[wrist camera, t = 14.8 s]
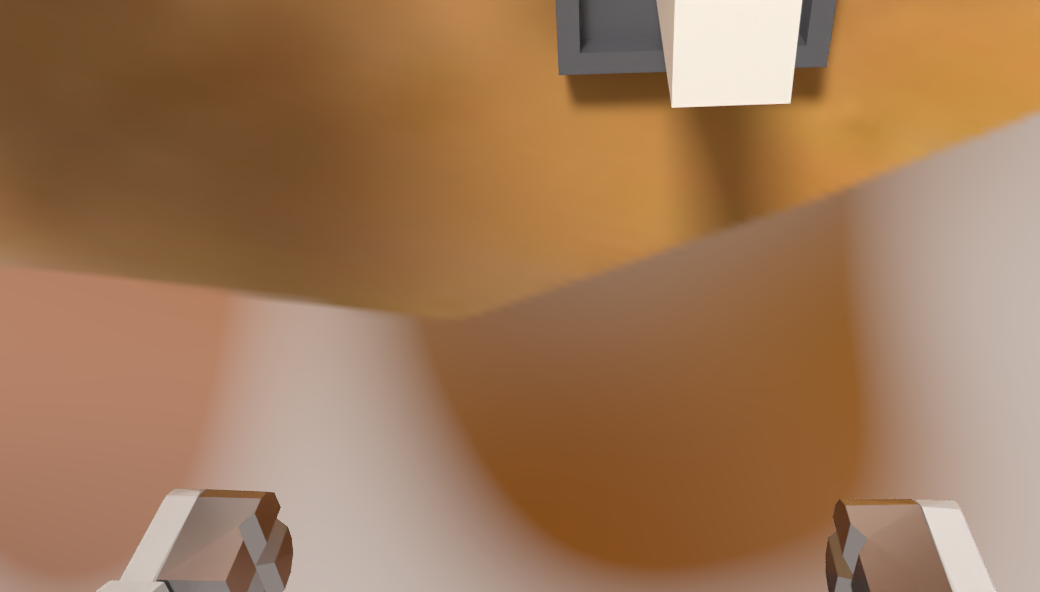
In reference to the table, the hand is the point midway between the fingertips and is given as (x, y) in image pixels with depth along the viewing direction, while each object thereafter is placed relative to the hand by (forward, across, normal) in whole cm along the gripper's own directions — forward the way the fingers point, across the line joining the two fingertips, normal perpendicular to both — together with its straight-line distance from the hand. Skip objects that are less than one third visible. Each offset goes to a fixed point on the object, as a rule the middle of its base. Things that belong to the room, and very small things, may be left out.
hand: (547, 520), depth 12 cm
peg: (+31, -5, -1) cm, 32 cm away
